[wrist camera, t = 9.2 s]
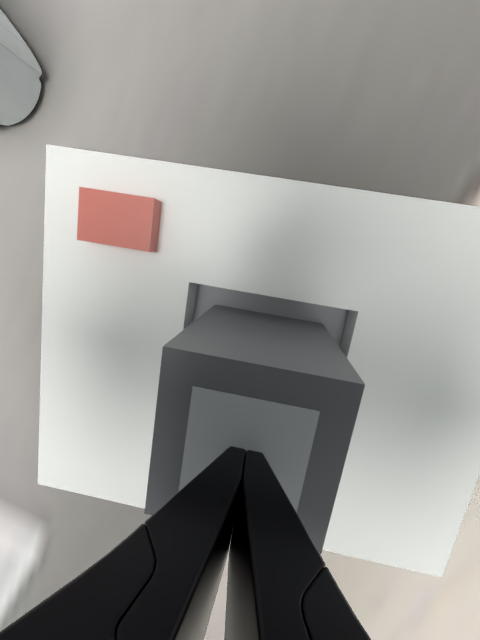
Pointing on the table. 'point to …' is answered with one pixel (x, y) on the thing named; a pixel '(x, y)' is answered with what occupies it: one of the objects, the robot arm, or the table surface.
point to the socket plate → (271, 298)
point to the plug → (256, 407)
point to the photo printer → (16, 75)
